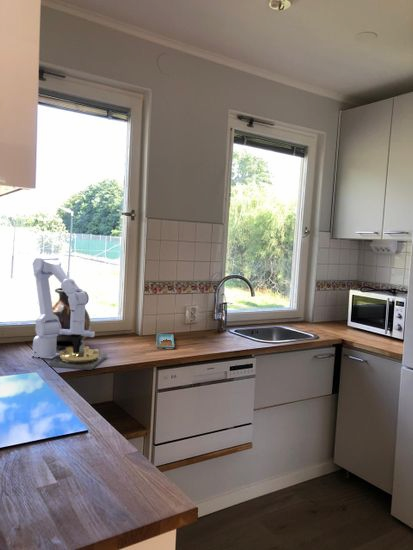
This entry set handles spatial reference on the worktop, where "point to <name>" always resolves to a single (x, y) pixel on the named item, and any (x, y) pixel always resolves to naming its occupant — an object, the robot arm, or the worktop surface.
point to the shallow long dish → (163, 337)
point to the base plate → (84, 365)
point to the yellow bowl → (79, 354)
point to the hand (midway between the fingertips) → (76, 352)
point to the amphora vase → (66, 320)
